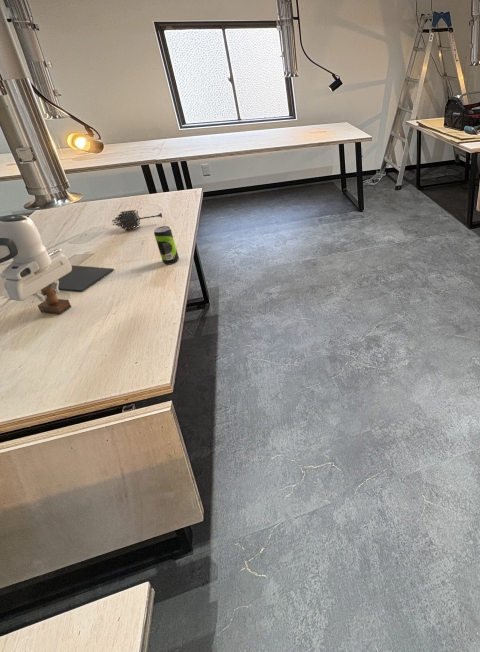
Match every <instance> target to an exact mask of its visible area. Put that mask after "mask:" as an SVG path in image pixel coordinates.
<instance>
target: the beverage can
mask: <svg viewBox="0 0 480 652" xmlns="http://www.w3.org/2000/svg"><path fill="white" fill-rule="evenodd" d="M153 234H154V237H155V242H156V244H157V248H158V251H159V255H160V257H161V259H162V260H161V261H162V263H163V264H165V265H172V263H173V264H176V263H177V262H178V261H179V259H180V258H179V257H180V256H179V253H178V250H177V246H176V242H175V239H174V235H173V232H172V229H171V227H170V226H168V225H162V226H159V227H157V228H154V230H153Z"/></svg>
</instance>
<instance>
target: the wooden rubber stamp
mask: <svg viewBox="0 0 480 652" xmlns="http://www.w3.org/2000/svg"><path fill="white" fill-rule="evenodd" d="M40 291H41V295H42V294H43V295H46V296H47V298H48V299H47V300H45V301H41V303H39V304H38V305H37V307H38V310H39V312H40V313H42V314H53V315H62V314H63V313H64V312H66V311H68V310H69V309H70V308H72V304H71V303H70V301H69V299H63V298H58V296H57V293H56V294H55V292H54V290H53V288H52V286H46V287H45V288H43V289H41V290H40Z"/></svg>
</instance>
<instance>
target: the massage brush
mask: <svg viewBox="0 0 480 652" xmlns="http://www.w3.org/2000/svg"><path fill="white" fill-rule="evenodd" d="M150 218H161V219H162V218H163V214H162V212H160V213H158V214H156V215H151V216H143V217H140V216H139V211H138V210H136V209H132V210H126V211H125V210H124V211H120V212H119V214H117V216H116V217H114V219H112V220H111V222H112V226H116V227H118V228H119V227H120V229H122V230H124V231H128V230H127V229H132V230H134V229H133V228H136V227H137V226H139V225H140V224H141V220H145V219H150ZM134 226H135V227H134ZM137 229H141V227H140V226H139V227H137Z"/></svg>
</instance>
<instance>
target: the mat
mask: <svg viewBox="0 0 480 652" xmlns="http://www.w3.org/2000/svg"><path fill="white" fill-rule="evenodd" d="M71 266H72V270H71V272H69V273H68V274H66V275H64V276H63V277H61V278H59V279H58V280H59V285H58V289H59V291H67V292H79V293H83V292H84V291H86V290H87V289H89V288H90V287H91V286H93V285H95V284H96V283H98V282H99V281H101V280H102V279H103V278H105V277H106V276H108V275H109V274H111V273H112V272H114V271H115V269H114V268H111V267H99V266H98V267H97V266H85V265H72V264H71ZM113 270H114V271H113ZM110 272H111V273H110ZM107 274H108V275H107ZM104 276H105V277H104ZM101 278H102V279H101ZM97 281H98V282H97ZM48 286H52V283H51V284H50V285H48Z"/></svg>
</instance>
